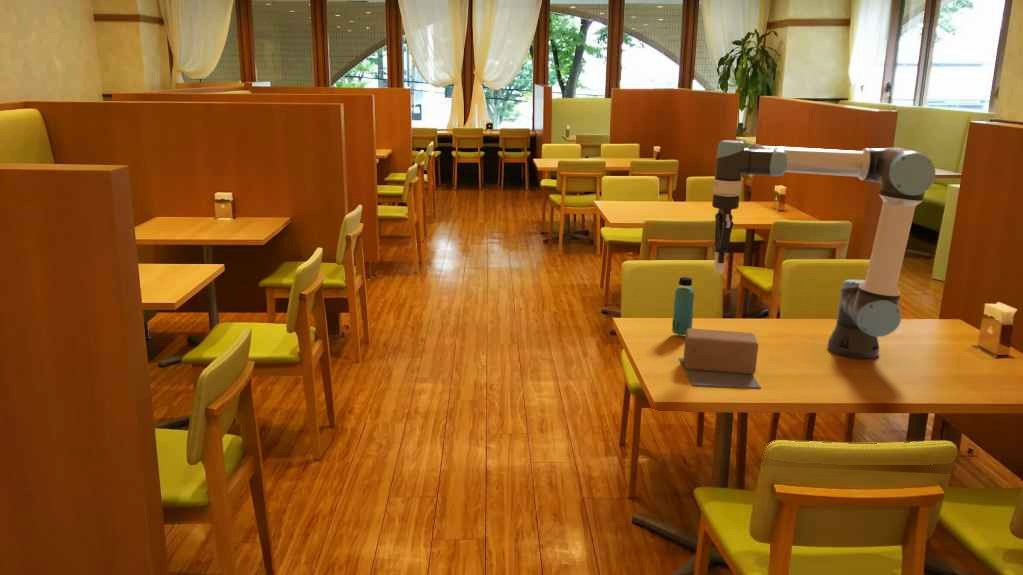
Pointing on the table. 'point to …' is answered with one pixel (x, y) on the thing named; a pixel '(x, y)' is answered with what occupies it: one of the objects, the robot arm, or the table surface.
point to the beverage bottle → (683, 307)
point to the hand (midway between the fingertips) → (718, 272)
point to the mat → (720, 378)
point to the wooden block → (720, 351)
